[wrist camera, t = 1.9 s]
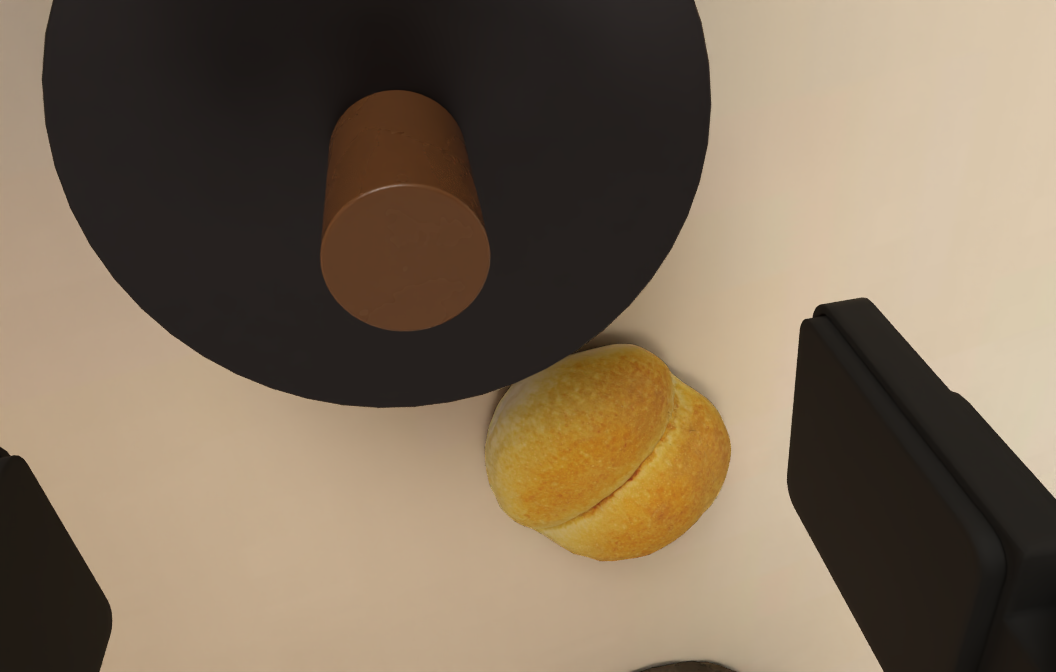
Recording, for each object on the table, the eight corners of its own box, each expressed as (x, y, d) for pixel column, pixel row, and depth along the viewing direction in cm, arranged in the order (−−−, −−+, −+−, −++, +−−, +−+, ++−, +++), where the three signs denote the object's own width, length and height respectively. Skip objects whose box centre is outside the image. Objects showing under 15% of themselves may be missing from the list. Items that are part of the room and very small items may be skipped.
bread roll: (593, 294, 29) (622, 364, 26) (747, 422, 34) (788, 496, 30) (428, 444, 32) (436, 525, 29) (591, 545, 36) (614, 625, 33)
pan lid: (-75, -177, 15) (-272, -137, 10) (698, -279, 16) (835, -283, 11) (187, 422, 22) (141, 599, 18) (694, 332, 23) (774, 478, 19)
